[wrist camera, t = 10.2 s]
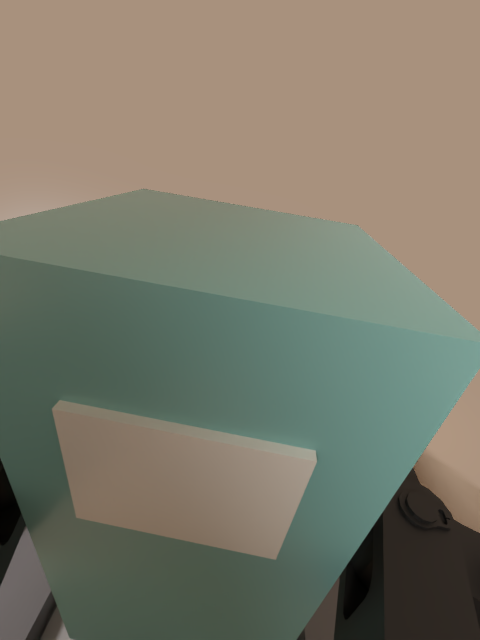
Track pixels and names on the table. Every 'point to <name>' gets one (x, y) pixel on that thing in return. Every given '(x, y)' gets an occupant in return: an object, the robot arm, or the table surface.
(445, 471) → the table surface
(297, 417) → the teal tall block
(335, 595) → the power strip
